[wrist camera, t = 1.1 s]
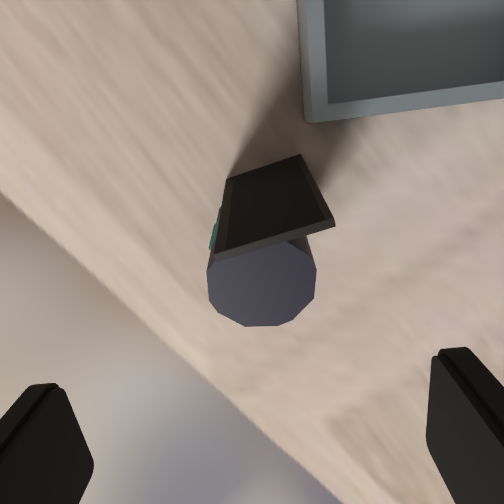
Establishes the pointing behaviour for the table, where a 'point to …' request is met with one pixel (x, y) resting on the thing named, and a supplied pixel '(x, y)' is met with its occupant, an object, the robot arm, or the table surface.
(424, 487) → the table surface
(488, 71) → the open box
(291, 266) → the speaker
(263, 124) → the table surface
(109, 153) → the table surface
